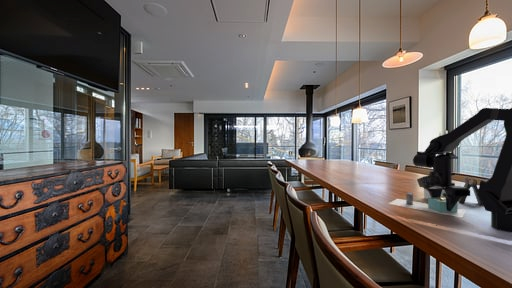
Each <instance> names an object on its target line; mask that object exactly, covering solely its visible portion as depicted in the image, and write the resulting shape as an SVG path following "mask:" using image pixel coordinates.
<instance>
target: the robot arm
mask: <svg viewBox="0 0 512 288" xmlns="http://www.w3.org/2000/svg"><path fill="white" fill-rule="evenodd" d="M494 121H501V122H502V121H503V128H504V132H505V138H504V141H503V143H502V146H501V149H500V151H499V155H498V158H497V161H496V164H495V166H494V170H493V173H492V175H491V177H490V178H489V179H484V180H483V179H482V180H480V182H479V186H478V190H477V192H479V193H478V197H479V198H480V200H481V201H482V203H483V205H484V206H483V208H484V210H485V211H486V212H490V214H491V215H490V219H491V220H490V224H491V225H490V226H491V227H492V228H494V229H496V230H497V231H502V232H507V233H512V107H510V108H497V107H484V108H482V109H480V110H478V111H477V112H476V113H474V115H472V116H471V117H470V118H468V119H467V120H465V121H463V122H462V123H461V124H460V125H458V126H456V127H455V128H454V129H452V130H451V131H450V132H446V133H444V134H441V135H439V136H437V137H435V138H432V139H430V141H429V144H428V146H427V147H426V149H425V150H424V151H417V152H416V154H415V155H414V157H413V159H412V163H413V165H414V166H415V167H418V168H419V167H420V168H424V169H425V168H427V169H432V170H430V171H429V172H428V173H429V175H424V176H425V177H424V176H422V177H419V178H417V179H416V181H417V183H418V186H419V188H422V189H423V190H424V189H426V190H427V191H428V192H429V194H430V196H431V198H440V197H441V193H442V189H443V190H445V192H446V193H442V194H443V195H444V196H445V198H446V206H447V211H451V210H452V209H453V207H454V206H455V205H456V203H457V202H458V201H459V200H460V198H461V197H464V196H467V197H470V196H471V190H470V189H468V188H465V187H464V186H461V185H456V184H455V182H453V179H452V178H453V177H452V176H455V175H456V173H455V172H453V171H452V168H453V167H452V160H458V159H459V157H458V155H456V154H454V153H453V151H454V150H455V149H456V148H458V147H459V146H460V143H462V141H463V140H465V139H466V138H467V137H470V136H471V135H473V134H475V133H476V132H477V131H479V130H481V129H482V128H484V127H485V126H487V125H489V124H490V123H492V122H494ZM444 187H445V188H444ZM458 203H459V202H458Z"/></svg>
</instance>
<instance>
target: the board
mask: <svg viewBox="0 0 512 288" xmlns="http://www.w3.org/2000/svg"><path fill="white" fill-rule="evenodd" d="M405 197H406V198H405V199H401V198H396V199H394V200H392V201H391V202H388V205H393V206H398V207H403V208H409V209H415V210H420V211H425V212H430V213H436V214H440V215H441V214H442V215H446V216H452V217H457V218H463V217H464V216H465V214H466V212H467V209H462V208H458V212H438V211H436V210H434V209H431V208H429V207H428V203H425V202H420V201H419V202H418V201H414V194H413V193H410V192H407V193H405Z"/></svg>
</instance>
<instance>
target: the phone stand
mask: <svg viewBox="0 0 512 288" xmlns="http://www.w3.org/2000/svg"><path fill="white" fill-rule="evenodd" d="M471 180H472V182H469V181H471ZM463 187H465V188H468V189H469V190H470V189H471V188H472V190H473V193H474V196H475V199H476V202H477V203H475V202H471V204H472V205H479V206H481V207H484V205H483V203H482V201H481V200H480V198H479V197H478V193H479V192H477V190H478V189H479V187H478V181H477V180H476V179H475V178H473V177H469V176H466V177H465V178H464V185H463ZM467 198H468V196H464V197H461V198H460V200H459V201H458V204H466V203H467V204H469V202H467V201H466V199H467Z"/></svg>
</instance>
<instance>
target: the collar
mask: <svg viewBox="0 0 512 288" xmlns="http://www.w3.org/2000/svg"><path fill="white" fill-rule="evenodd" d="M445 199H446V198H445ZM427 204H428V207H429V208H431V209H434V210H436V211H438V212H458V209H459V208H458V204H459V202H457V203H456V205H455V206H454V207H453V209H452V210H451V211H447V206H446V201H439V200H438V198H428V199H427Z"/></svg>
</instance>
